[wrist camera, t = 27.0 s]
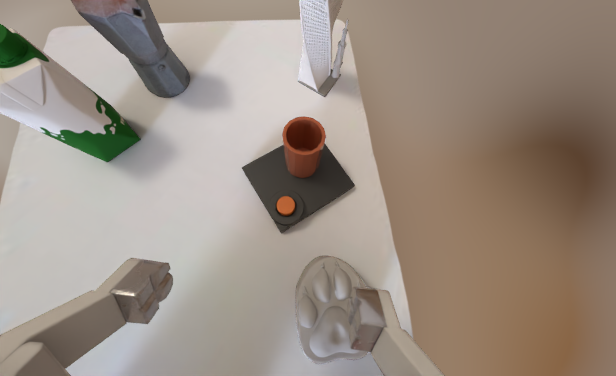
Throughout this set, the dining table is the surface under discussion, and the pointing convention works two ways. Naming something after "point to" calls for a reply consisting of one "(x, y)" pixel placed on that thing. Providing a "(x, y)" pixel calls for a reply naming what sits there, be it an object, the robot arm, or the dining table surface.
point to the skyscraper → (320, 44)
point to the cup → (303, 146)
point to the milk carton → (57, 101)
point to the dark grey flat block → (296, 185)
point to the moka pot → (137, 41)
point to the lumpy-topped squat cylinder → (326, 310)
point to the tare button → (286, 205)
